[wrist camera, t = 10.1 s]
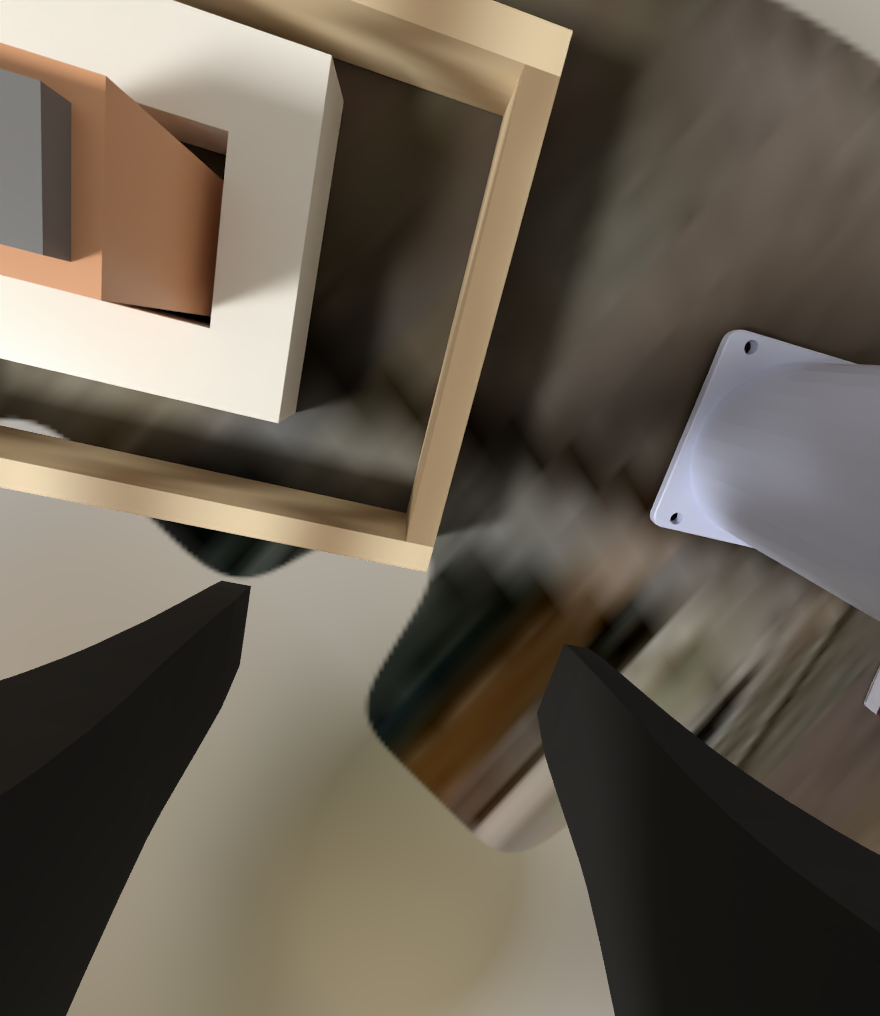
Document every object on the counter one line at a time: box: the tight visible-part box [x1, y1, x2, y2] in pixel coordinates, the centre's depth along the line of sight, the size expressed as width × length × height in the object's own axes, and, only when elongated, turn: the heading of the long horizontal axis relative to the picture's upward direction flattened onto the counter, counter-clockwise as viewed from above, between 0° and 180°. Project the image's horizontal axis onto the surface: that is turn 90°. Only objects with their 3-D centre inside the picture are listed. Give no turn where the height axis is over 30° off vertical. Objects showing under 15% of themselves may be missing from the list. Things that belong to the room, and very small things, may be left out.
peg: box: [0, 43, 224, 316], centre depth 12 cm, size 4×4×8 cm
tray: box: [0, 0, 573, 572], centre depth 15 cm, size 20×16×3 cm
